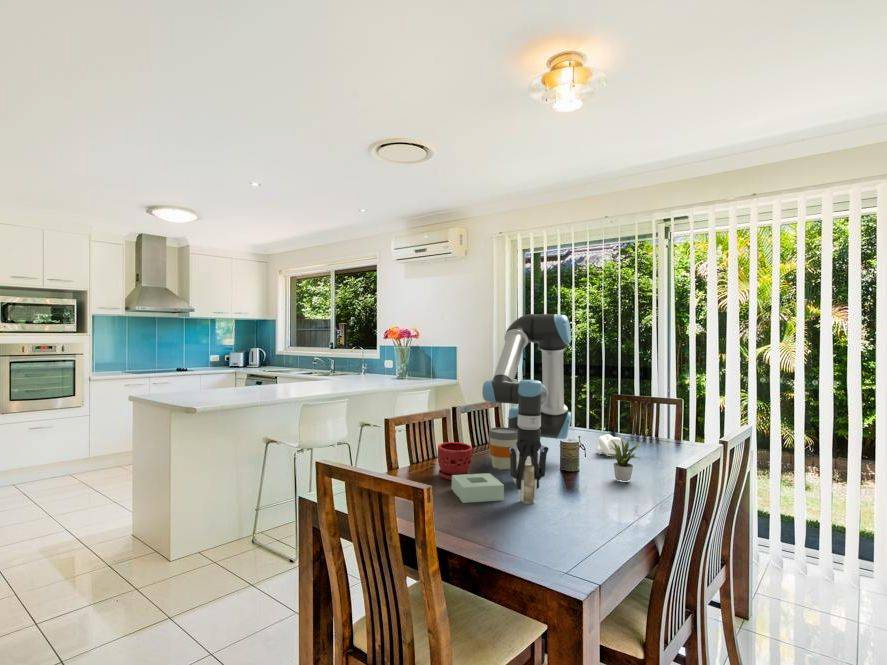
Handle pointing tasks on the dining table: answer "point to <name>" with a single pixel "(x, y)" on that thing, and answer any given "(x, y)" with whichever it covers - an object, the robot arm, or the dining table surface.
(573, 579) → the dining table surface
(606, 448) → the crumpled white lump
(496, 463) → the reusable coffee cup
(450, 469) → the plant pot
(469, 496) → the socket block
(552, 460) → the dining table surface
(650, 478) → the dining table surface
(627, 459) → the house plant
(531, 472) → the peg
